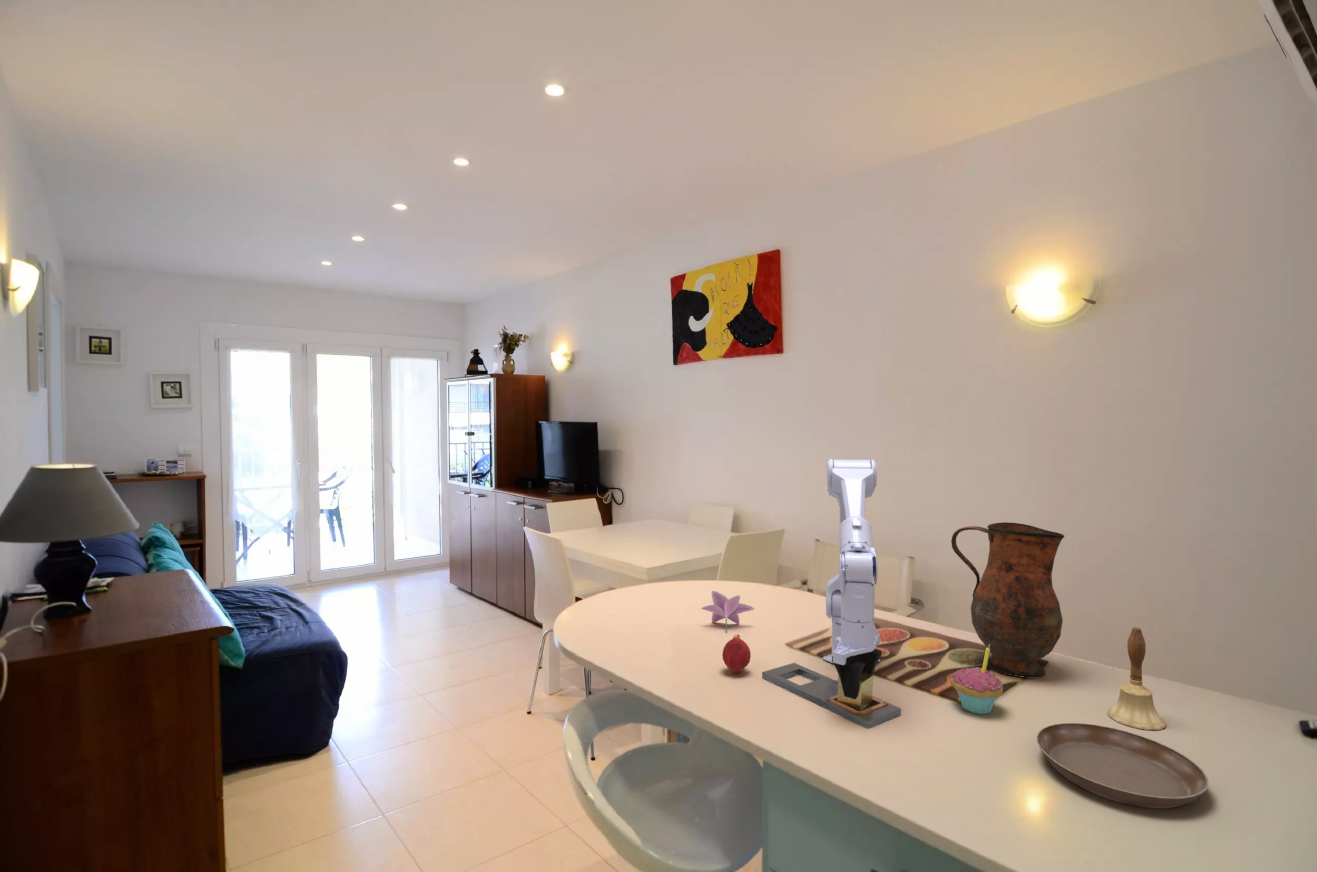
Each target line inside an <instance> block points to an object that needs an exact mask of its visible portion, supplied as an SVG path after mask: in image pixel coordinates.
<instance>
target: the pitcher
mask: <svg viewBox="0 0 1317 872" xmlns="http://www.w3.org/2000/svg"><path fill="white" fill-rule="evenodd" d="M972 530H973V531H979V532H983V533H985V534H987V537H988V541H989V547H988V548H989V551H988V557H987V564H986V567H985V569H984V572H982V573H983V574H982V576H981V577H980V573H979V571H978V569H977V567H976V566H975V565H974V564H973V563H972V562H971V561H970V560H969V559H968V558H967V557H966V556H965V555H964V554H963V552H961V550H960V549H959V547H958V545H957V537H958V535H959V534H960V533H962V532H963V531H972ZM1064 537H1065V535H1064V534H1063V533H1060V532H1057V531H1051V530H1047V529H1043V528H1040V527H1037V526H1034V525H1031V524H1026V523H1020V522H1019V523H1018V522H1004V521H1003V522H994V523H990V524H988V525H987V528H986V527H982V526H973V525H972V526H964V527H961V528H959V529H956V531H954V532H953V534H952V537H951V541H950V542H951V548H952V550H953V552H954V553H955V554H956V555H957V556H958V557H959V559H960V560H961V561H962V562H964V564H965V565H966V566H967V567H968V568H969V569H970V570H971V571H972V573H973V574H974V575H975V577H976V584H975V587H974V590H973V592H972V602H971V604H970V615H971V616H970V617H971V624H972V626H973V628H974V630H975V633H976V635H977V637H978V639H979V640H980V641H981V642H982V643H983V644H984V646H985V647H986V648H988V646H989V644H990V647H989V649H990V652H989V653H991V657H990V656H989V657H988V663H987V666H988V667H987V668H989V667H990V668H991V669H990V668H989V669H990V670H992V669H993V670H992V671H994V670H995V672H997V671H998V672H997V673H999V672H1001V673H1000V674H1002V673H1006V674H1011V675H1017V676H1024V677H1039V678H1043V677H1044V676H1045V675H1046V670H1045V668H1044V667H1043V666H1042V665H1040V664H1039V663H1038V661H1040V660H1042V659H1043V658H1045V657H1046V656H1047V655H1049V654H1050V653H1051V652H1052V651H1053V650H1054V648H1055V646H1056V645H1057V643H1058V641H1059V639H1060V637H1061V635H1062V626H1063V622H1064V621H1063V620H1064V619H1063V615H1062V610H1061V607H1060V606H1061V605H1060V602H1059V599H1058V596H1057V595H1056V591H1055V590H1054V586H1053V576H1052V575H1053V568H1054V564H1055V563H1054V562H1055V558H1056V556H1057V551H1058V549H1059V546H1060V545H1061V542H1062V540H1063V539H1064ZM1006 674H1005V675H1006ZM1042 676H1043V677H1042Z"/></svg>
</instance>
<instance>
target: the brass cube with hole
mask: <svg viewBox="0 0 1317 872" xmlns="http://www.w3.org/2000/svg"><path fill="white" fill-rule="evenodd" d="M837 679H838V680H837V681H838V696H837V702H840V703H842V704H844V705H846V706H848V707H851V708H853V709H855V710H857V711H862V710H864V708H866V707H867V706H869V705H868V704H869V703H871V702H872V696H873V687H874V674H873V675H872V674H869V673H866V672H863V671H862V673H861V676H860V681H859V689H858V694H857V698H856V699H852V698H848V697H845V696H844V692H843V688H842V684H841V680H840V677H839V675H838V678H837Z"/></svg>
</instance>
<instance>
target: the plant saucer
mask: <svg viewBox="0 0 1317 872" xmlns="http://www.w3.org/2000/svg"><path fill="white" fill-rule="evenodd" d="M1036 734H1037V735H1036V738H1035V739H1036V743H1037V746H1038V748H1039V749H1040V751H1041V753H1042V754H1043V756H1044V757H1045V758H1046V760H1047V761H1048V762H1049V764H1050V765H1051V766H1052V767H1053V768H1054V769H1055V770H1056V771H1057V772H1058V773H1059V774H1061V776H1063V777H1064V778H1065V779H1067V781H1070V782H1071V783H1073V784H1074V785H1076V786H1078V787H1080V788H1082V789H1084V790H1085V791H1086V792H1087V791H1088V792H1090V793H1092V794H1094V795H1095V796H1096V795H1097V796H1099V797H1102V798H1104V799H1107V800H1110V801H1113V802H1117V803H1121V804H1124V805H1129V806H1133V807H1134V806H1135V807H1139V808H1150V809H1170V808H1177V807H1181V806H1183V805H1186V804H1189V803H1191V802H1193V801H1195V800H1197V799H1198V798H1199V797H1201V796H1202V795H1203V794H1204V793H1205V792H1206V790H1208V787H1209V779H1208V776H1207V774H1206V773H1205V771H1204V770H1203V769H1202V768H1201V767H1200V766H1199V765H1198V764H1196V762H1195V761H1193V760H1192V759H1190V758H1189V757H1188V756H1186V755H1184V754H1182V753H1180V752H1179V751H1177V750H1175V749H1173V748H1171V747H1170V746H1168V745H1165V744H1163V743H1161V742H1158V741H1155V740H1153V739H1151V738H1147V737H1145V736H1143V735H1140V734H1136V733H1133V732H1129V731H1126V730H1122V729H1118V728H1114V727H1109V726H1104V725H1097V724H1092V723H1091V724H1090V723H1077V722H1068V723H1065V722H1063V723H1056V724H1051V725H1048V726H1045V727H1043V728H1042V729H1040V730H1039V731H1038V732H1037V733H1036Z"/></svg>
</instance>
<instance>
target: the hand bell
mask: <svg viewBox="0 0 1317 872" xmlns="http://www.w3.org/2000/svg"><path fill="white" fill-rule="evenodd" d="M1126 644H1127V654H1128V657H1129V661H1130V662H1129V663H1130V675H1129V678H1130V679H1129V683H1126V684H1122V685H1121V686H1120V689H1119V690H1120V691H1119V695H1118V698H1117V701H1116V703H1115V704H1114V705H1113V706H1112V707H1110V708H1108V710H1107V711H1106V713H1107V715H1109V716H1110V717H1111V718H1112V719H1111V718H1110V717H1109V716H1108V717H1109V718H1110V719H1111V720H1113V721H1114V720H1115V721H1114V722H1117V723H1118V722H1119V723H1118V724H1121V725H1123V724H1124V726H1126V725H1127V726H1126V727H1131V728H1133V729H1139V730H1143V729H1144V730H1145V731H1161V730H1163V728H1164V729H1165V728H1166V727H1167V723H1166V721H1165V720H1164V718H1162V716H1161V715H1160V714H1159V713H1158V712H1157V710H1156V706H1155V704H1154V699H1153V693H1152V691H1151V690H1150V689H1149V688H1147V687H1145V686H1144V685H1143V662H1144V660H1145V656H1146V651H1147V650H1146V648H1147V647H1146V641H1145V637H1144V635H1143V632H1142V629H1141V628H1140V627H1132V628H1131V632H1130V634H1129V636H1128V639H1127V643H1126ZM1165 726H1166V727H1165Z"/></svg>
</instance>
